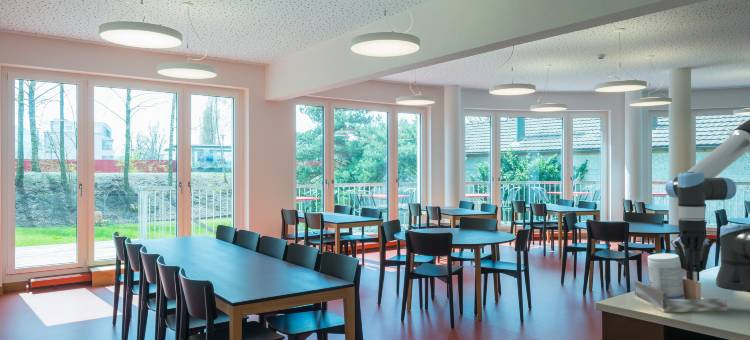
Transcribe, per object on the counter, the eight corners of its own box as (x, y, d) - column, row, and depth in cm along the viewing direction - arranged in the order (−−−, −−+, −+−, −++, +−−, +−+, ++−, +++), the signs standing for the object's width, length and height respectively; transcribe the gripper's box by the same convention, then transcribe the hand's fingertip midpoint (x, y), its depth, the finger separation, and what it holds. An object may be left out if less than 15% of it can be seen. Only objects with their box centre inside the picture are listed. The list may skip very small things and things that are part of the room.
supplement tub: (690, 299, 169) (686, 254, 168) (676, 306, 163) (671, 259, 163) (660, 294, 177) (656, 252, 177) (645, 301, 171) (641, 257, 171)
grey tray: (692, 296, 179) (691, 279, 179) (727, 310, 161) (726, 291, 161) (634, 298, 178) (634, 281, 178) (663, 312, 161) (663, 293, 161)
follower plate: (675, 294, 177) (674, 274, 177) (701, 305, 163) (700, 283, 163) (670, 294, 177) (670, 274, 177) (696, 305, 163) (695, 283, 163)
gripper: (703, 217, 173) (704, 288, 173) (666, 218, 173) (667, 288, 173) (718, 219, 166) (720, 293, 166) (679, 220, 166) (680, 294, 166)
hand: (693, 290), depth 169 cm, fingers closed
